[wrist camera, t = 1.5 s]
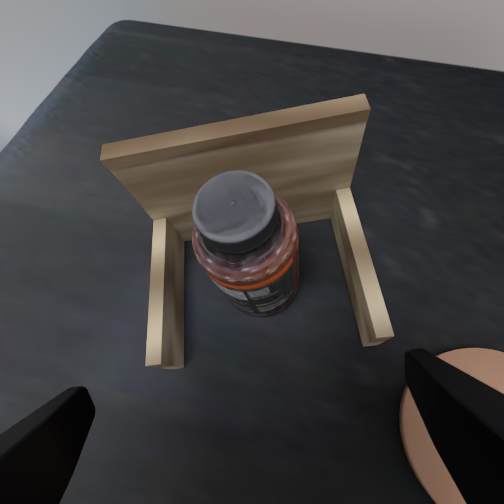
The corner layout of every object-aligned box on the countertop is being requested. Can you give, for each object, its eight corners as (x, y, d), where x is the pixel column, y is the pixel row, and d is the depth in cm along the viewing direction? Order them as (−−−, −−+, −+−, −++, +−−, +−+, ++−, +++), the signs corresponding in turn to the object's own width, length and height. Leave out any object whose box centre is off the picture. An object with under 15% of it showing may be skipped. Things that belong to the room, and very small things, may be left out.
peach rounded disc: (567, 605, 14) (585, 620, 13) (371, 460, 18) (375, 464, 17) (613, 414, 17) (630, 415, 16) (435, 320, 20) (441, 317, 20)
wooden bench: (377, 345, 20) (449, 306, 11) (170, 369, 22) (67, 355, 12) (339, 205, 25) (364, 93, 16) (173, 232, 27) (102, 144, 17)
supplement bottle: (264, 235, 25) (241, 133, 15) (315, 282, 23) (328, 198, 13) (211, 281, 24) (148, 204, 14) (259, 335, 22) (224, 290, 12)
